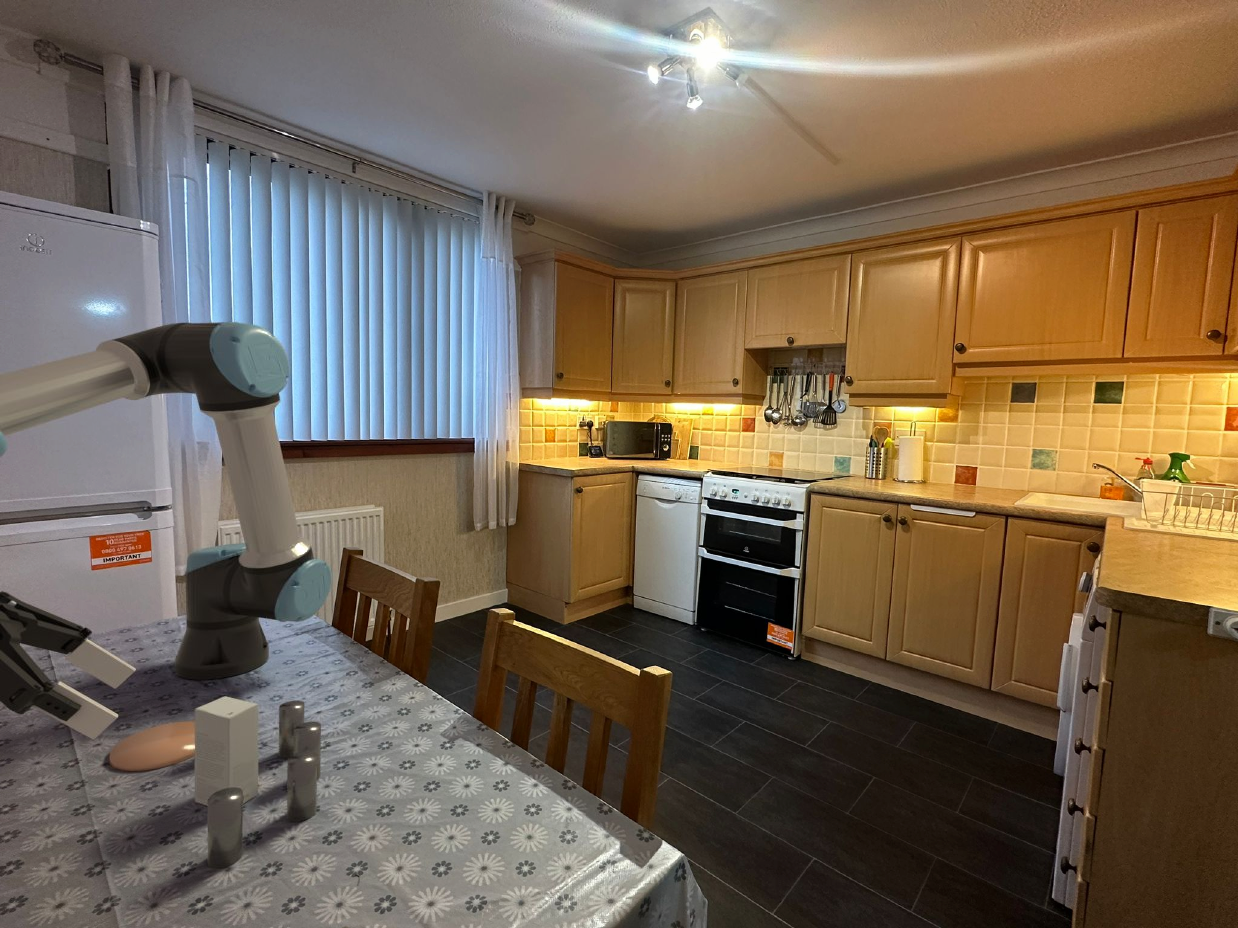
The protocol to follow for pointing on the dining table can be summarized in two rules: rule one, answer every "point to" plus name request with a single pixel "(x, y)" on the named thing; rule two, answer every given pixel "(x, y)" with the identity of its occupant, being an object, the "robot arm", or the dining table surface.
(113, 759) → the saucer
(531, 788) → the dining table surface
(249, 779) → the skincare box
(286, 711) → the set of grey cylinders
